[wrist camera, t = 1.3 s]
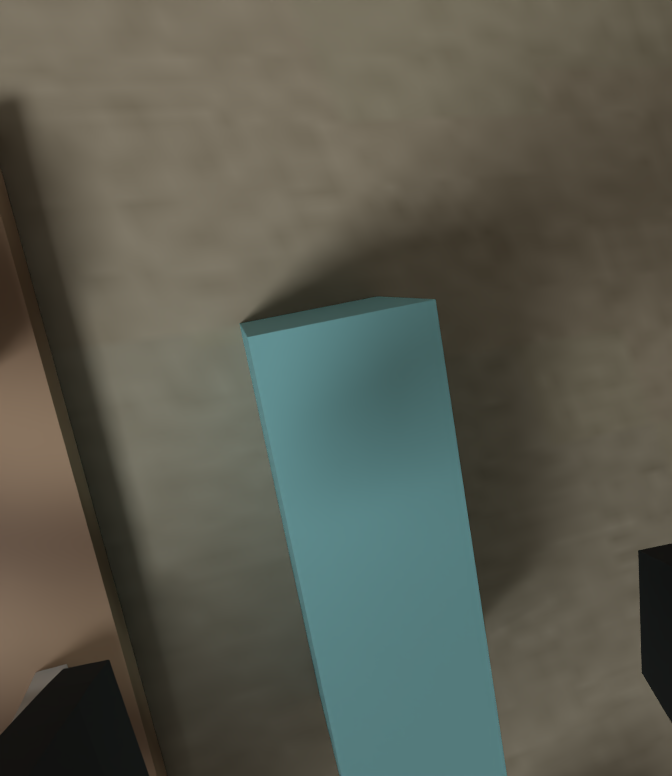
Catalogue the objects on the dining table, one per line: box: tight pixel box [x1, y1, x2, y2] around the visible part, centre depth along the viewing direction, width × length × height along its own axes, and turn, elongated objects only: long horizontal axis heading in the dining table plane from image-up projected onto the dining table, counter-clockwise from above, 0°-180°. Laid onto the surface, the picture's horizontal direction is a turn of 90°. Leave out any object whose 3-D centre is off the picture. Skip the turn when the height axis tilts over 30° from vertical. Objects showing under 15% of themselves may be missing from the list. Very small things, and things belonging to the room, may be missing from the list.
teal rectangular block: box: [240, 296, 507, 776], centre depth 16 cm, size 12×4×5 cm, turn 10°
